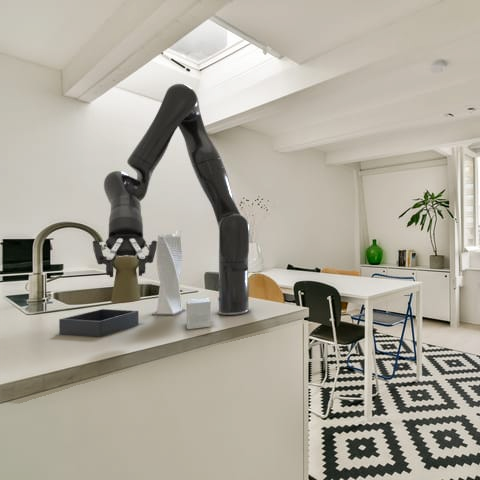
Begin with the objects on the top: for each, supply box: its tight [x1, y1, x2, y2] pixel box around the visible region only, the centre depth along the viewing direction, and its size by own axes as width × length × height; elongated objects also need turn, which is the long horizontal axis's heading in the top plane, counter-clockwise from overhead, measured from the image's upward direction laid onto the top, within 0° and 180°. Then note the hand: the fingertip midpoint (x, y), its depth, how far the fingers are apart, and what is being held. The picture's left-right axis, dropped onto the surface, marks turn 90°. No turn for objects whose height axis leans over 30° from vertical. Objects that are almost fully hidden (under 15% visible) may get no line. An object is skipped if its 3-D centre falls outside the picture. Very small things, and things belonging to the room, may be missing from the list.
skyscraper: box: [151, 228, 186, 316], centre depth 110 cm, size 8×8×28 cm
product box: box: [185, 297, 212, 330], centre depth 96 cm, size 6×6×7 cm
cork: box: [110, 255, 142, 304], centre depth 82 cm, size 6×6×11 cm
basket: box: [58, 308, 140, 338], centre depth 92 cm, size 12×12×4 cm
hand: (126, 274), depth 81 cm, fingers closed on cork, 5 cm apart
